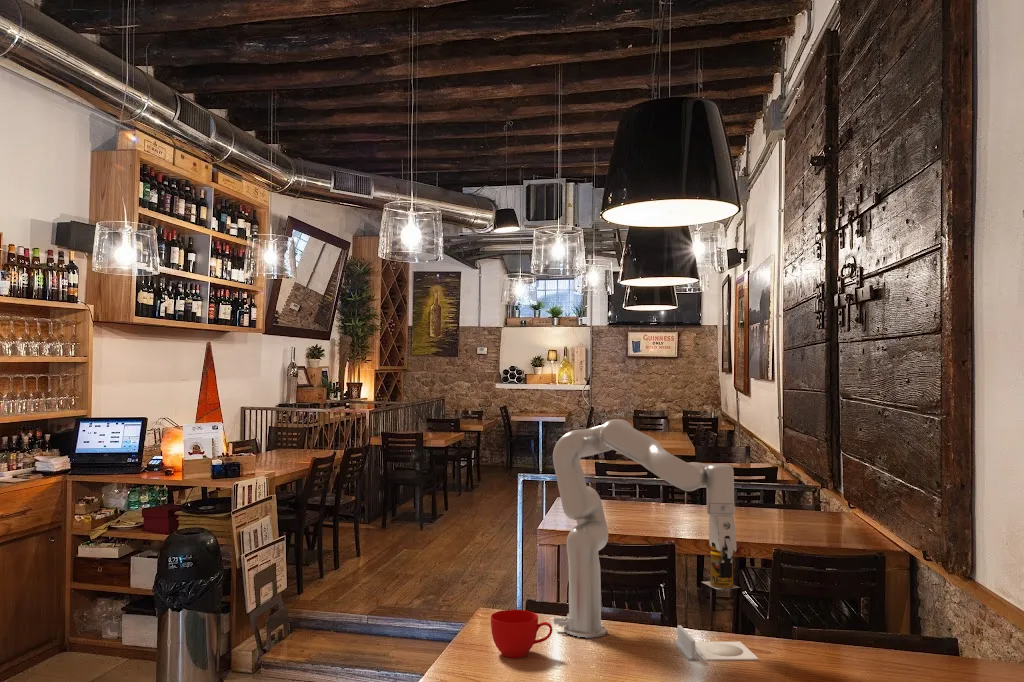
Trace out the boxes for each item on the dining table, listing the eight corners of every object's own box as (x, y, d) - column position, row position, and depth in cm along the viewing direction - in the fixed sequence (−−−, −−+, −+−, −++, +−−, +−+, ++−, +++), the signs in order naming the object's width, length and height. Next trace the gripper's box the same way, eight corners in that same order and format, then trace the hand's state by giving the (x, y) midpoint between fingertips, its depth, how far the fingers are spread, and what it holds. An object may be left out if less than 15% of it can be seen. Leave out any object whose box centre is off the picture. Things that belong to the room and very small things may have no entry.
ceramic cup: (548, 665, 185) (548, 625, 186) (485, 660, 188) (485, 621, 189) (555, 649, 197) (555, 611, 198) (496, 644, 201) (496, 608, 202)
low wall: (688, 660, 188) (687, 641, 189) (674, 643, 202) (673, 625, 203) (699, 660, 188) (698, 641, 189) (684, 643, 202) (684, 625, 203)
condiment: (717, 590, 193) (717, 545, 194) (700, 582, 201) (700, 539, 202) (740, 588, 195) (740, 544, 196) (723, 581, 203) (722, 538, 204)
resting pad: (706, 660, 188) (706, 658, 188) (691, 643, 202) (691, 641, 202) (758, 660, 189) (758, 658, 189) (740, 642, 203) (740, 641, 203)
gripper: (744, 513, 191) (746, 582, 189) (723, 504, 208) (724, 567, 206) (717, 513, 191) (718, 582, 189) (698, 504, 208) (699, 567, 206)
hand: (722, 573), depth 198 cm, fingers closed on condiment, 6 cm apart
